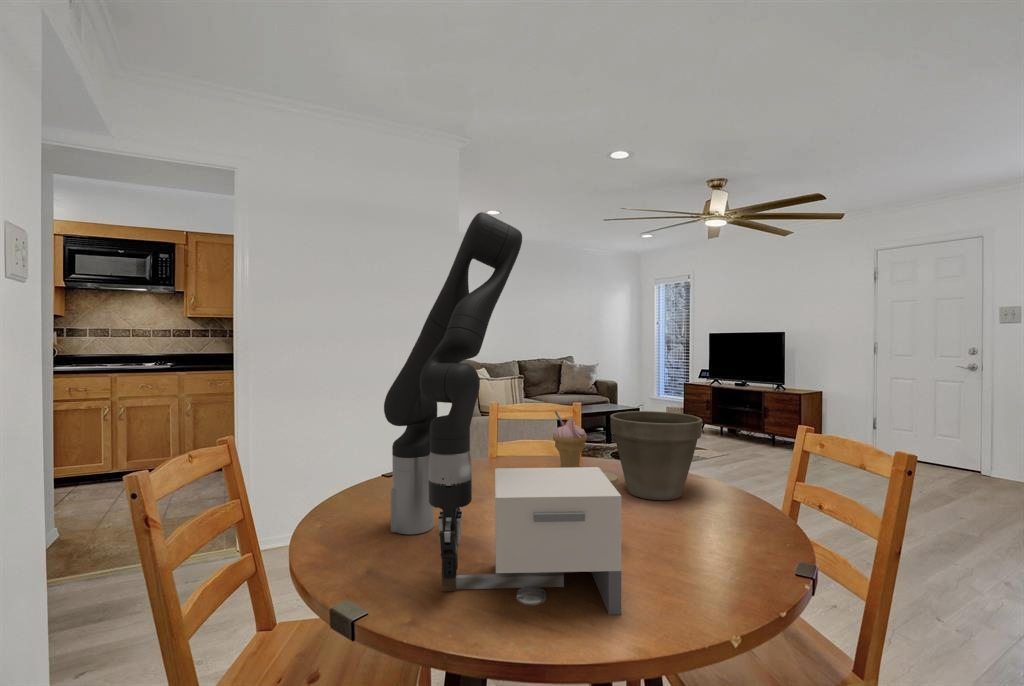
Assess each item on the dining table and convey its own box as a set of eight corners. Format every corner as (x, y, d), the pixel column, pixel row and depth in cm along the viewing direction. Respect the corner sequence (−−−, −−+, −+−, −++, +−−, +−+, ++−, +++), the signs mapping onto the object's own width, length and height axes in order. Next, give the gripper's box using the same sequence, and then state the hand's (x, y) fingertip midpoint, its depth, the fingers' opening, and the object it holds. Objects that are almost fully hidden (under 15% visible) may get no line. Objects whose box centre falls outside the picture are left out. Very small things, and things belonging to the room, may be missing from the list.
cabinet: (495, 620, 82) (495, 499, 82) (495, 566, 101) (495, 468, 100) (622, 617, 83) (622, 498, 82) (598, 564, 102) (598, 467, 101)
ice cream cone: (558, 479, 161) (558, 414, 161) (548, 470, 172) (548, 409, 171) (592, 477, 163) (592, 413, 163) (580, 468, 174) (580, 408, 174)
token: (516, 607, 86) (516, 601, 86) (515, 592, 91) (515, 586, 91) (547, 606, 87) (547, 600, 87) (544, 591, 92) (544, 586, 92)
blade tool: (441, 591, 91) (441, 534, 91) (443, 584, 93) (442, 529, 93) (564, 588, 92) (563, 531, 92) (562, 582, 94) (562, 526, 94)
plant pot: (658, 476, 164) (658, 407, 164) (722, 498, 142) (722, 418, 142) (592, 487, 153) (592, 413, 152) (651, 513, 131) (651, 426, 130)
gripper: (433, 466, 99) (433, 557, 99) (423, 488, 85) (424, 594, 85) (473, 466, 99) (473, 556, 99) (469, 487, 85) (470, 593, 85)
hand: (450, 573), depth 92 cm, fingers closed on blade tool, 2 cm apart
